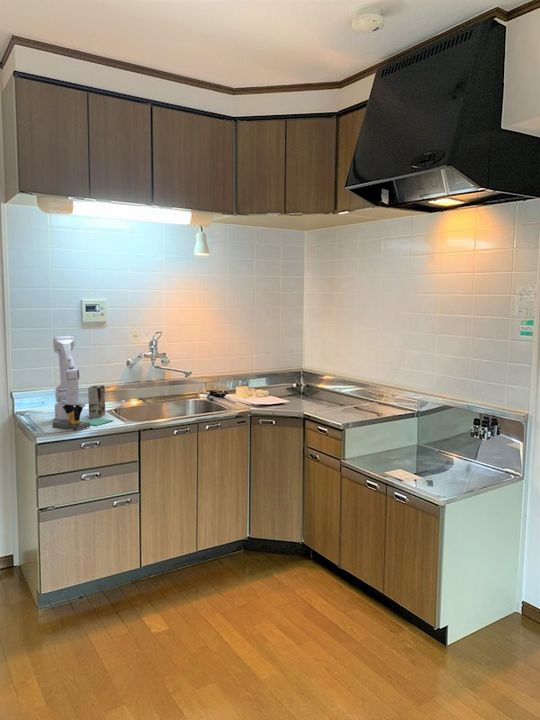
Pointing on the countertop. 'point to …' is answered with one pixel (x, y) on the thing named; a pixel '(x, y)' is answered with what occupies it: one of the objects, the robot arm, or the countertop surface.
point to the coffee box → (96, 401)
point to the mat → (98, 421)
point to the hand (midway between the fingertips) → (73, 419)
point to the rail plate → (70, 425)
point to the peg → (72, 418)
